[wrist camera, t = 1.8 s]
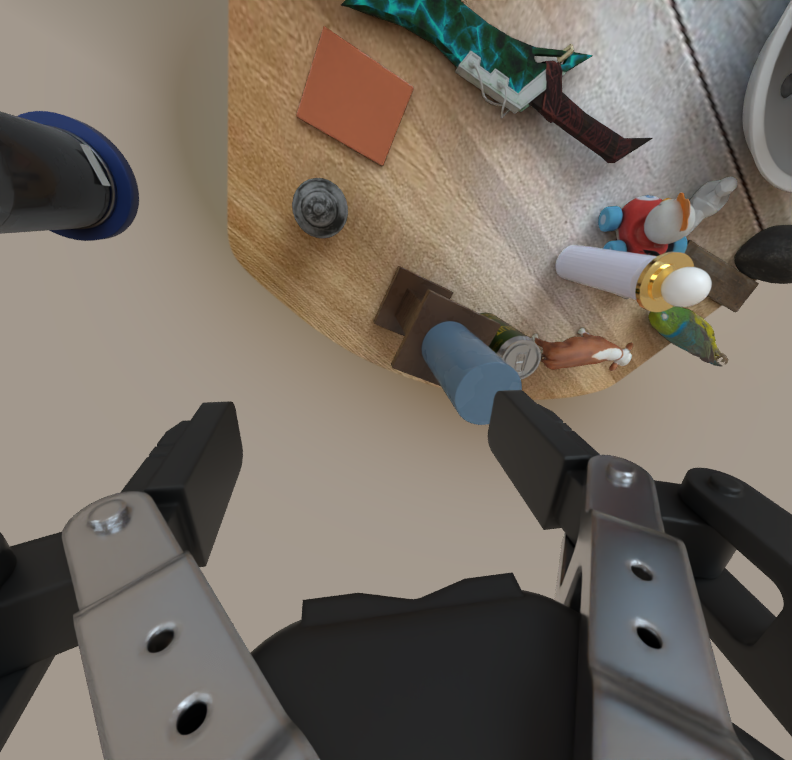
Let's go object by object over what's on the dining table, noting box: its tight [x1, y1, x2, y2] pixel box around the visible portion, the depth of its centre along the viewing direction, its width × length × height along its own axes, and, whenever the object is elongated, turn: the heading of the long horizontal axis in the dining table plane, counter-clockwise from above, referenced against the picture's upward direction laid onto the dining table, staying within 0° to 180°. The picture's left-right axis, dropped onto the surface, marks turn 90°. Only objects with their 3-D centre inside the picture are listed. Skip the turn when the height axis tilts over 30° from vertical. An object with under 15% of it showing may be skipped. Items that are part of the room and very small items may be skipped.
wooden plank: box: [685, 240, 758, 312], centre depth 54 cm, size 17×1×5 cm
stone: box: [735, 225, 792, 284], centre depth 50 cm, size 8×8×10 cm
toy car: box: [598, 193, 695, 256], centre depth 42 cm, size 9×9×10 cm
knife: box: [341, 0, 652, 163], centre depth 37 cm, size 37×3×10 cm
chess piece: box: [292, 178, 348, 238], centre depth 36 cm, size 6×6×12 cm
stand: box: [374, 266, 501, 386], centre depth 41 cm, size 8×8×16 cm
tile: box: [296, 26, 414, 166], centre depth 37 cm, size 10×8×1 cm
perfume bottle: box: [556, 245, 712, 312], centre depth 40 cm, size 6×6×20 cm
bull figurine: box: [532, 327, 633, 371], centre depth 51 cm, size 4×13×8 cm, turn 89°
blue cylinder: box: [422, 321, 522, 425], centre depth 29 cm, size 5×5×10 cm
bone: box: [617, 177, 737, 299], centre depth 48 cm, size 18×5×4 cm
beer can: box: [480, 313, 541, 379], centre depth 46 cm, size 5×5×12 cm
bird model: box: [648, 306, 728, 366], centre depth 55 cm, size 5×19×5 cm
